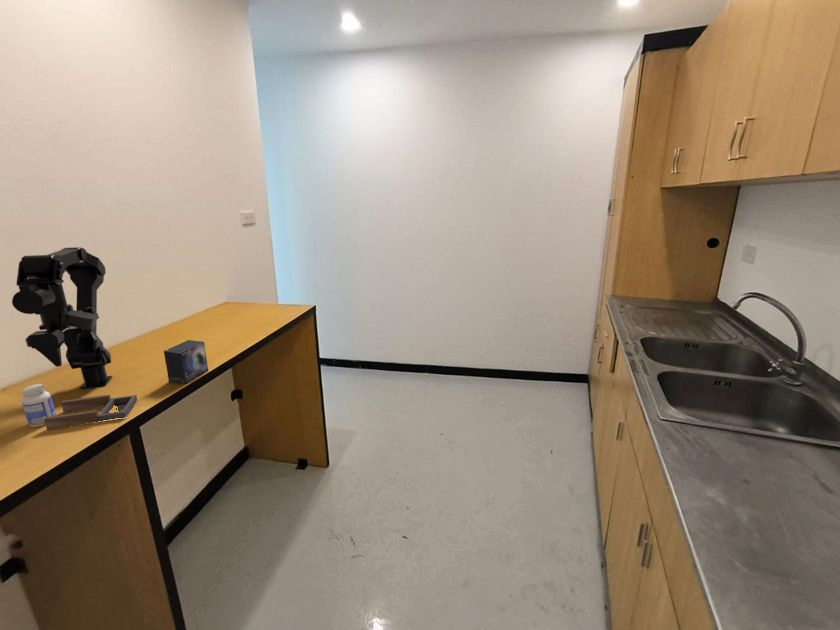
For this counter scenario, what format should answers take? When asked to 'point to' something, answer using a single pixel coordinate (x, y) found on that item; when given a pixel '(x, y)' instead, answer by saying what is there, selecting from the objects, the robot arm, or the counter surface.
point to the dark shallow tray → (121, 403)
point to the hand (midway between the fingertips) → (67, 359)
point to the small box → (186, 361)
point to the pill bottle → (37, 405)
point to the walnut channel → (80, 417)
